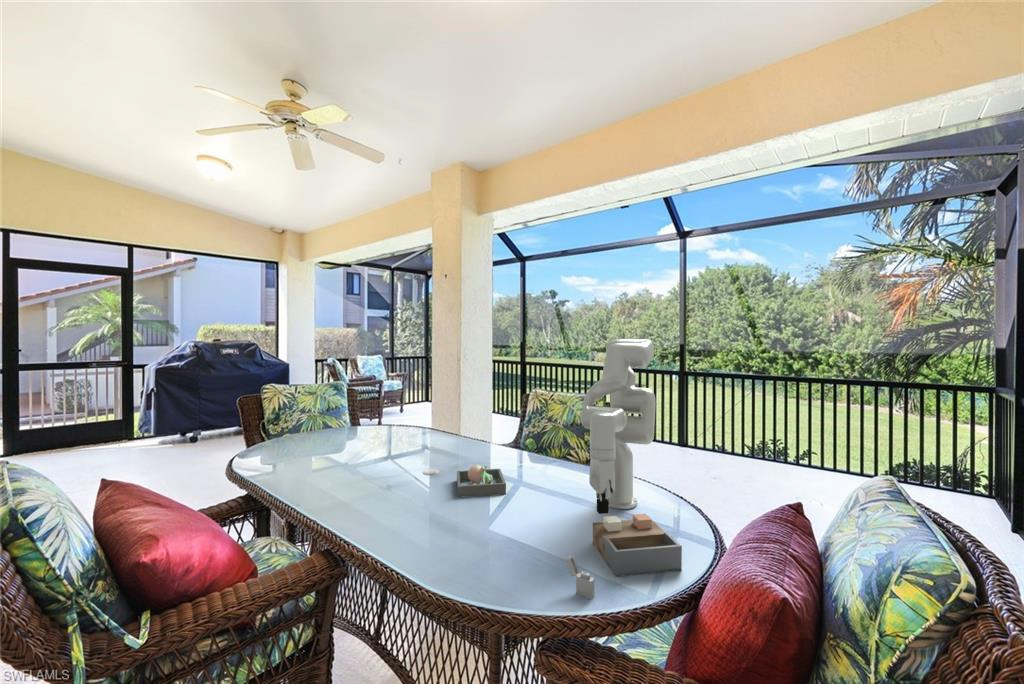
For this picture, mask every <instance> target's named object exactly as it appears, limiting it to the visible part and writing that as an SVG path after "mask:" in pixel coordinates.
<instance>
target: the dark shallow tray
mask: <svg viewBox="0 0 1024 684" xmlns="http://www.w3.org/2000/svg"><path fill="white" fill-rule="evenodd" d="M468 471H469V469H468V470H457V471H456V484H457V485H456V486H457V496H458V498H463V497H462V496H469V497H481V496H480V495H484V496H495V495H496V494H500V495H506V494H507V483H506V480H505V478H504V475H503V472H502V470H501V468H490V469H489V468H488V469H487V468H486V470H485V472H486V473H487V474H489V475H492V477H493V480H498V483H491V484H484V483H480V484H473V485H467V484H465V485H464V484H463V485H462V484H461V482H471V481H470V480H469V478H468ZM496 496H497V495H496Z"/></svg>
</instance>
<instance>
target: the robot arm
mask: <svg viewBox="0 0 1024 684" xmlns="http://www.w3.org/2000/svg"><path fill="white" fill-rule="evenodd" d="M654 354H655V347H654V343H653V342H652V340H651V339H648V338H614V339H611V340H609V341H608V342H607V343H606V345H605V356H604V357H605V358H604V363H603V369H602V373H601V374H602V375H601V378H600V379H599V380H598V381H596V382H595V383H593V385H592V386H591V387H590V388H589V389H588V390H587V392H585V395H584V398H583V401H582V407H581V411H580V423H581V425H582V427H583V428H584V429H588V430H589V434H590V435H589V457H590V463H589V481H588V482H589V485H590V487H592V488H593V490H594V491H595V494H596V512H597V513H598V514H599V515H601V514H604V515H605V514H609V509H610V508H611V509H616V510H629V509H633V508H635V507H637V506H638V499H637V498H636V497H634V455H633V451H632V449H631V448H630V447H629V445H628V444H634V445H635V444H636V445H650V444H652V442H653V440H654V436H655V422H656V404H657V403H656V395H655V393H654V391H653V390H652V389H651V388H649V387H636V380H637V377H636V376H637V375H636V373H635V372H634V370H633V368H646V367H648V366H649V365H650V363H651V362H652V360H653V358H654ZM608 395H610V397H609V398H610V399H609V400H610V402H609V405H610V406H604V405H603V406H599V405H595V403H596V402H597V401H598V400H600V399H601V398H603V397H606V396H608ZM627 414H633V415H627ZM634 414H635V415H636V416H635V415H634ZM637 415H640V416H637Z"/></svg>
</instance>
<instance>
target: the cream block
mask: <svg viewBox="0 0 1024 684" xmlns="http://www.w3.org/2000/svg"><path fill="white" fill-rule="evenodd" d="M602 519H603V521H602V522H603V526H604V527H605V528H606V529H607V531H608V532H609V531H621V530H622V521H623V520H621V519H620V518H619V517H618V516H617V515H610V516H603V517H602Z"/></svg>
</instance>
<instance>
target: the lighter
mask: <svg viewBox="0 0 1024 684" xmlns="http://www.w3.org/2000/svg"><path fill="white" fill-rule="evenodd" d="M565 562H566V566H567V568H568V570H569V573H570V576H571V577H575V581H576V583H575V585H576V587H575V590H576V592H575V593H576V595H578V596H581V597H584V598H586V599H589V600H593V599H594V598H595V578H594V577H593V576H592V577H591V575H590V573H589V572H587V571H585V570H584V571H583V570H582V571H581V572H580V570H579V568H578V565H577V563H576V560H575V557H574V556H573V555H569V556H567V557H566V558H565Z"/></svg>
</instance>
